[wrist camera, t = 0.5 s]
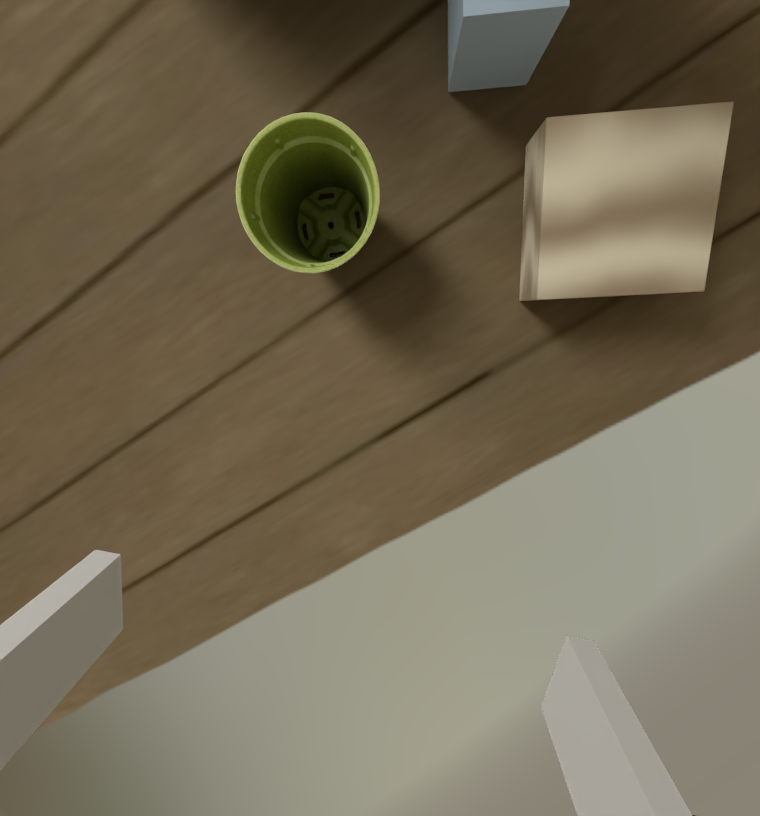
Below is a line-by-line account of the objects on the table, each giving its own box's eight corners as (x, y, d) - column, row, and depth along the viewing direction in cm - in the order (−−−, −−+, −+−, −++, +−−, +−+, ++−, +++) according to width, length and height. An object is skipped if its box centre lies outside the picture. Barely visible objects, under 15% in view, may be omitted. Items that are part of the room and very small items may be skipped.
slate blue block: (447, -2, 28) (463, -119, 21) (529, -11, 28) (577, -134, 20) (448, 92, 30) (463, 16, 22) (526, 85, 29) (569, 5, 22)
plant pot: (265, 180, 32) (216, 135, 24) (372, 150, 31) (361, 92, 23) (294, 292, 34) (259, 287, 26) (396, 268, 33) (393, 254, 25)
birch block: (524, 147, 31) (546, 117, 26) (680, 134, 30) (733, 101, 25) (518, 301, 34) (537, 299, 29) (660, 293, 33) (704, 291, 28)
